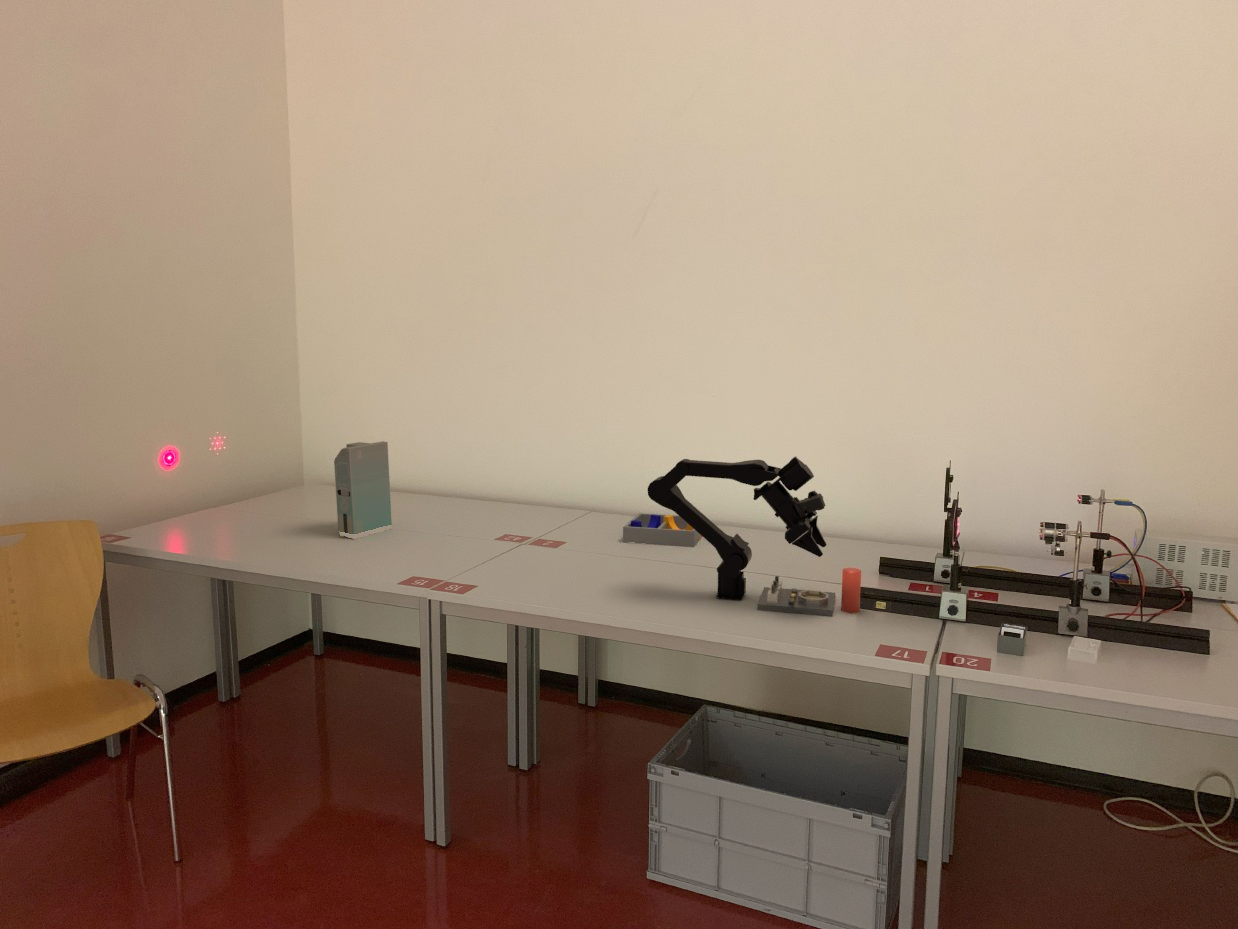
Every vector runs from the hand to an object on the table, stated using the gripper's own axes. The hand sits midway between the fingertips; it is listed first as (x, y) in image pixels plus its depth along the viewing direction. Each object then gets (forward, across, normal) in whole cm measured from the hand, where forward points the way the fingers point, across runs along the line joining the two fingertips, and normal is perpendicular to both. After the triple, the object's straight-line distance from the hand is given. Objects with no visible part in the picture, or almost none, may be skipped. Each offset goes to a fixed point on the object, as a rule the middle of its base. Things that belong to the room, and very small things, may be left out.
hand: (823, 550), depth 220 cm
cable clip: (-30, +54, +55) cm, 83 cm away
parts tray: (-27, +54, +50) cm, 78 cm away
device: (-91, +30, +123) cm, 156 cm away
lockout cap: (+15, -2, +4) cm, 16 cm away
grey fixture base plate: (+6, -1, +14) cm, 15 cm away
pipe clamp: (-23, +54, +46) cm, 75 cm away
